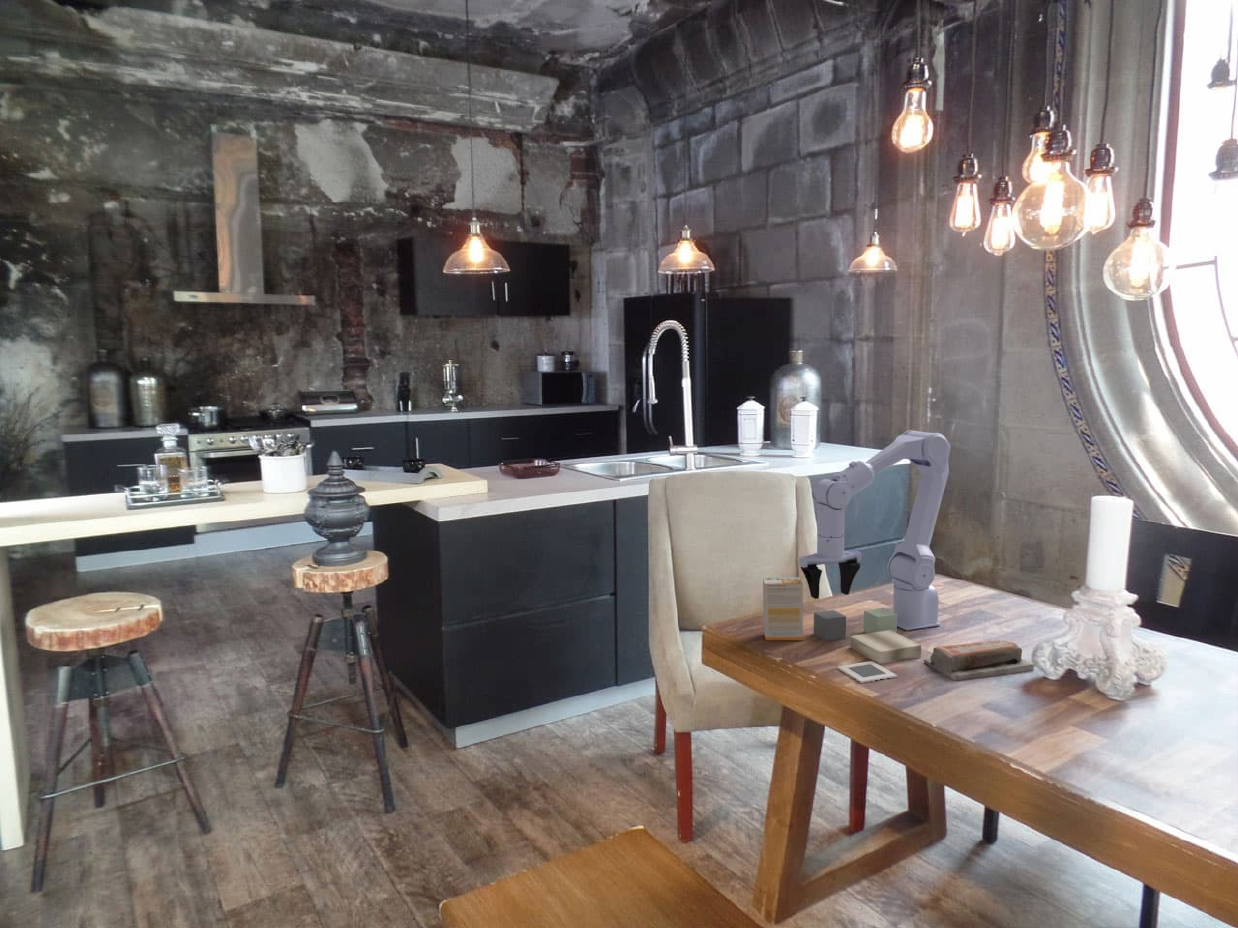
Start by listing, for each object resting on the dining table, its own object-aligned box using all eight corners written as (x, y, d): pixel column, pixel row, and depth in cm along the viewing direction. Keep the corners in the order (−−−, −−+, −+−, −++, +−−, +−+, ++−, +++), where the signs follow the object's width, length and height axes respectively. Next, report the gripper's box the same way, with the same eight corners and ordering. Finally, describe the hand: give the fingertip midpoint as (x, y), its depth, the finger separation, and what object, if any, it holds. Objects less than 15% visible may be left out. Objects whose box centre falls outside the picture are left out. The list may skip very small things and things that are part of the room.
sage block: (882, 629, 188) (883, 607, 188) (896, 636, 184) (897, 614, 183) (863, 631, 187) (864, 610, 186) (877, 639, 182) (877, 616, 181)
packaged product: (955, 659, 158) (923, 642, 167) (954, 683, 158) (923, 665, 168) (1036, 648, 162) (1000, 632, 172) (1035, 672, 163) (1000, 654, 172)
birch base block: (890, 643, 180) (890, 629, 180) (920, 659, 171) (921, 645, 170) (850, 649, 177) (850, 636, 177) (879, 666, 168) (879, 651, 167)
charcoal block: (832, 631, 188) (833, 609, 187) (845, 638, 183) (846, 616, 182) (813, 633, 186) (813, 612, 185) (825, 641, 181) (826, 619, 181)
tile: (871, 662, 168) (872, 660, 168) (896, 677, 161) (897, 674, 161) (837, 668, 166) (837, 665, 166) (861, 683, 158) (861, 680, 158)
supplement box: (800, 633, 186) (800, 576, 184) (802, 641, 182) (803, 582, 180) (762, 633, 187) (762, 576, 185) (764, 640, 182) (764, 582, 181)
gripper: (848, 528, 188) (847, 587, 189) (791, 534, 183) (791, 594, 185) (867, 534, 181) (866, 595, 183) (808, 540, 176) (808, 603, 178)
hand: (829, 595), depth 183 cm, fingers open, 7 cm apart
